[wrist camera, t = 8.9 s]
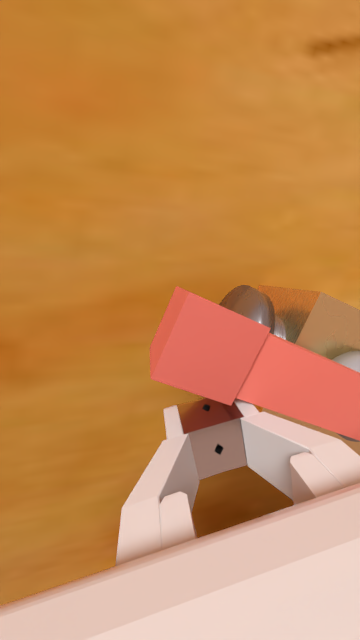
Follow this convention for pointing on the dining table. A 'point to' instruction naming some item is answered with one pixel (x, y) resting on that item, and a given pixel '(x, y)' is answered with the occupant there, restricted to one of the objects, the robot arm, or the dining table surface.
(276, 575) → the robot arm
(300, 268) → the dining table surface
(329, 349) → the valve
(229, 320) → the lever
